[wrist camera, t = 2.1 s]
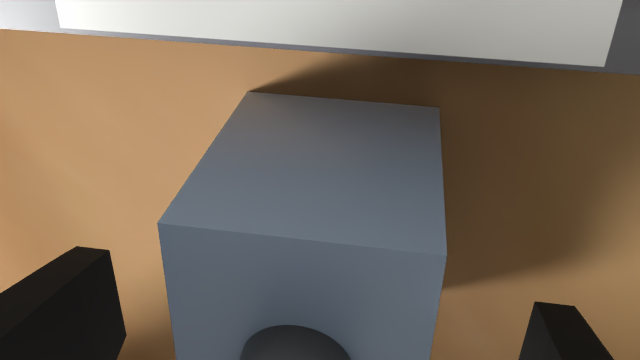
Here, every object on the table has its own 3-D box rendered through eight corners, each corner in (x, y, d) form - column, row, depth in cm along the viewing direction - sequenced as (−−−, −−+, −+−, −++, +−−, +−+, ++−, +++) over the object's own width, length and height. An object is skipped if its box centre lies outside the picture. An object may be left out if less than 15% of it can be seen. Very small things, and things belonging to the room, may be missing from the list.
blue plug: (413, 293, 15) (406, 581, 9) (255, 274, 15) (154, 537, 9) (439, 105, 12) (452, 345, 6) (248, 90, 13) (104, 299, 7)
